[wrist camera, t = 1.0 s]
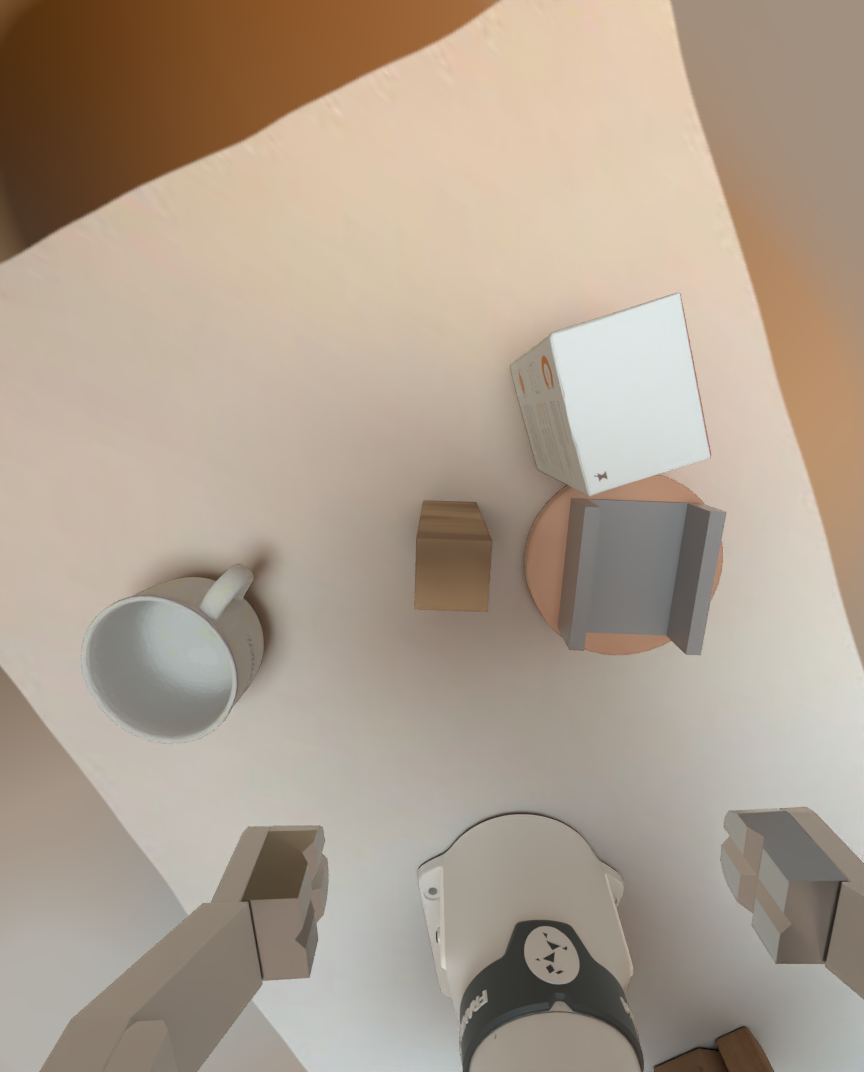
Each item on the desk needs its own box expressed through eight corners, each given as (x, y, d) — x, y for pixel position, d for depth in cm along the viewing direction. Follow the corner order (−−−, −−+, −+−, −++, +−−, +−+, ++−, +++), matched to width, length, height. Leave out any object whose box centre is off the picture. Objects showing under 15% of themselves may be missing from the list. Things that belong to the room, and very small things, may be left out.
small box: (619, 445, 37) (715, 461, 24) (536, 471, 37) (587, 500, 24) (594, 334, 35) (683, 288, 22) (507, 363, 35) (545, 334, 23)
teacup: (211, 707, 42) (159, 773, 35) (117, 616, 40) (40, 663, 33) (331, 612, 40) (305, 659, 32) (237, 510, 38) (186, 534, 30)
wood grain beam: (473, 552, 39) (487, 611, 27) (422, 550, 39) (414, 609, 27) (476, 502, 38) (492, 541, 26) (423, 500, 38) (416, 538, 26)
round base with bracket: (689, 643, 40) (731, 682, 34) (517, 637, 40) (530, 674, 34) (719, 471, 37) (771, 482, 31) (531, 464, 37) (549, 474, 31)
